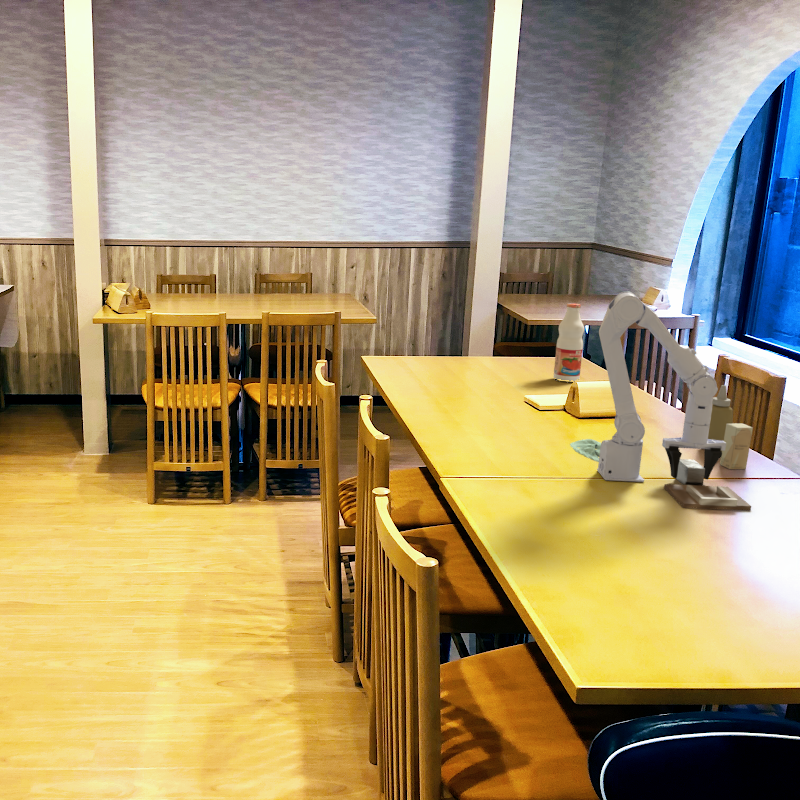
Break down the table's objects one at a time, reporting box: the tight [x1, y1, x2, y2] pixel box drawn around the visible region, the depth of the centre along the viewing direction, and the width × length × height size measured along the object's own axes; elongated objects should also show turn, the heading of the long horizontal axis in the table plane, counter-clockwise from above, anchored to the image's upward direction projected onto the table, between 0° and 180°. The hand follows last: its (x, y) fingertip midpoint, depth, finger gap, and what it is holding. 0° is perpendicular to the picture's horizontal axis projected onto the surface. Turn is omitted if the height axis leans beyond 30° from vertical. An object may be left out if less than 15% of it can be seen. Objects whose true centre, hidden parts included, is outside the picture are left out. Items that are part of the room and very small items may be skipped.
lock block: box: [675, 458, 705, 486], centre depth 209 cm, size 4×7×5 cm, turn 2°
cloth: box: [569, 438, 602, 463], centre depth 231 cm, size 20×22×2 cm
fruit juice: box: [553, 302, 585, 381], centre depth 318 cm, size 9×9×28 cm
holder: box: [663, 483, 752, 511], centre depth 198 cm, size 15×14×2 cm
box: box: [719, 422, 754, 470], centre depth 223 cm, size 5×4×11 cm
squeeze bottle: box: [708, 384, 734, 452], centre depth 237 cm, size 8×8×18 cm
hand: (689, 477), depth 209 cm, fingers open, 7 cm apart
